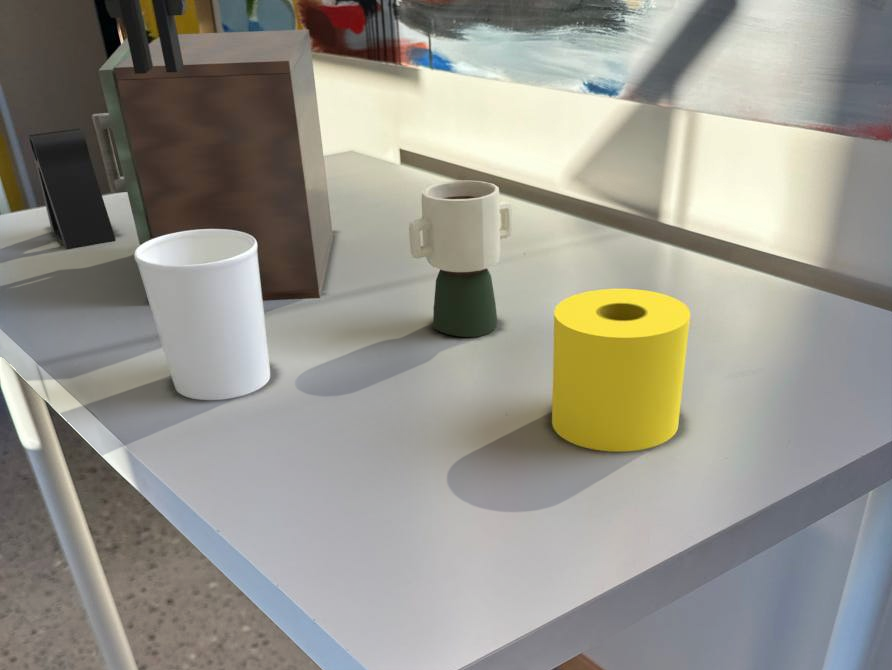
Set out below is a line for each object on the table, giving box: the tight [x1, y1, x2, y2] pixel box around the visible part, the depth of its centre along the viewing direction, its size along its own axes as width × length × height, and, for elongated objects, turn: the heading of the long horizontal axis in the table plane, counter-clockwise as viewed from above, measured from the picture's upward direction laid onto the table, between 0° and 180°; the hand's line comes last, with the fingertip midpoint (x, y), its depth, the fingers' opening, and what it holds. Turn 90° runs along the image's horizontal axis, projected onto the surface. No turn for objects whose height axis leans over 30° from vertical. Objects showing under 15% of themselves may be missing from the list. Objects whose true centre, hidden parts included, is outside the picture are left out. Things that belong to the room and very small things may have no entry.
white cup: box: [133, 229, 271, 401], centre depth 82 cm, size 10×10×12 cm
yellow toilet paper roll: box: [551, 288, 691, 453], centre depth 75 cm, size 10×10×9 cm
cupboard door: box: [91, 37, 153, 246], centre depth 104 cm, size 6×22×22 cm, turn 10°
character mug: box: [408, 179, 513, 338], centre depth 90 cm, size 11×7×13 cm, turn 123°
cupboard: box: [114, 28, 334, 302], centre depth 104 cm, size 16×22×22 cm
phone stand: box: [28, 128, 116, 250], centre depth 119 cm, size 9×6×12 cm, turn 30°
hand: (159, 69), depth 71 cm, fingers closed
